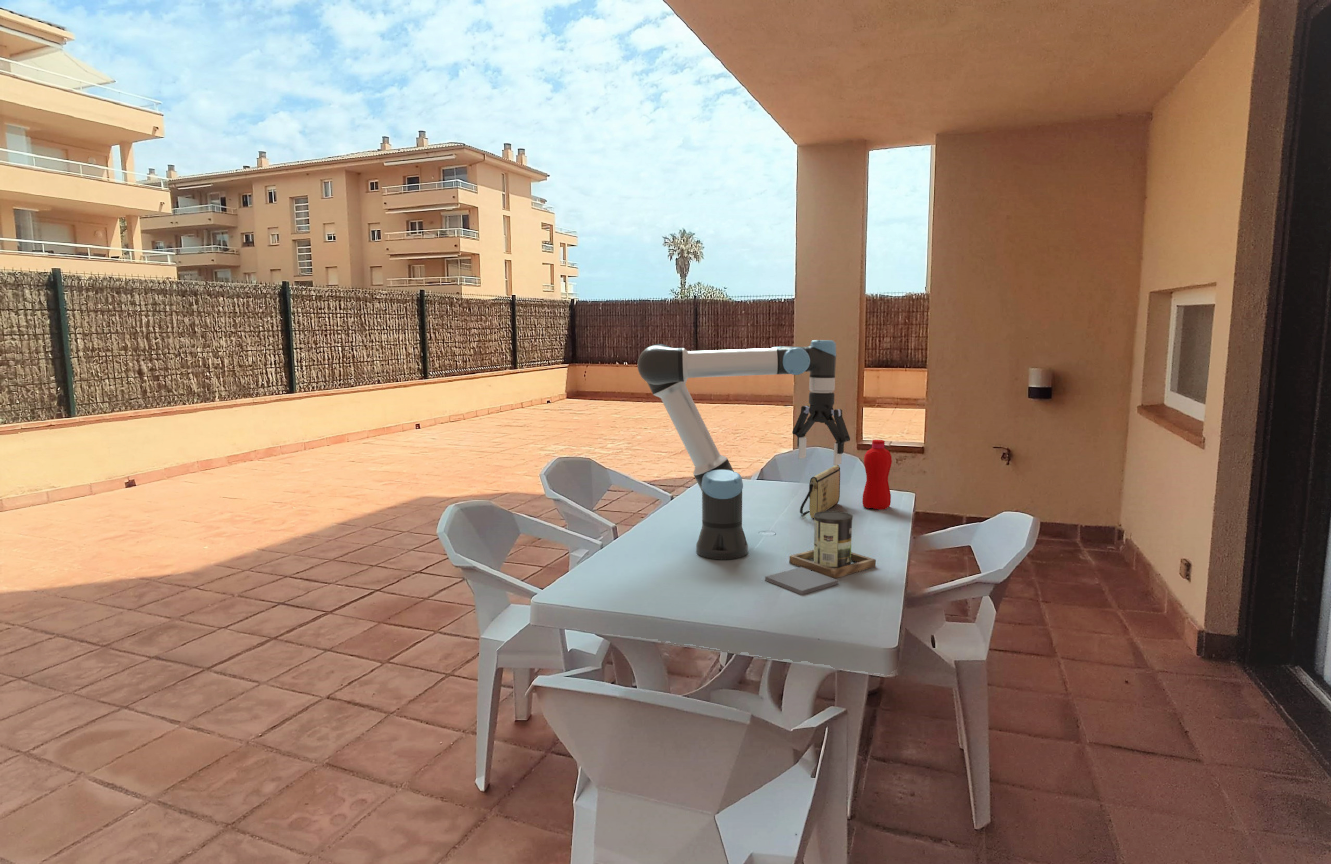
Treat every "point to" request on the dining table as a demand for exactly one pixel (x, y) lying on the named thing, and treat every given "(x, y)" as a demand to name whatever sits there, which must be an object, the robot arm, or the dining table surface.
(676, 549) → the dining table surface
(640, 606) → the dining table surface
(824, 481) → the clutch purse
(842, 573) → the frame
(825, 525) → the coffee can
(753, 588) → the dining table surface
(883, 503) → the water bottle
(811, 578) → the mat
